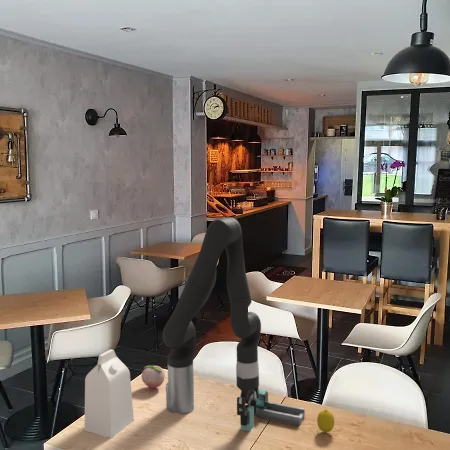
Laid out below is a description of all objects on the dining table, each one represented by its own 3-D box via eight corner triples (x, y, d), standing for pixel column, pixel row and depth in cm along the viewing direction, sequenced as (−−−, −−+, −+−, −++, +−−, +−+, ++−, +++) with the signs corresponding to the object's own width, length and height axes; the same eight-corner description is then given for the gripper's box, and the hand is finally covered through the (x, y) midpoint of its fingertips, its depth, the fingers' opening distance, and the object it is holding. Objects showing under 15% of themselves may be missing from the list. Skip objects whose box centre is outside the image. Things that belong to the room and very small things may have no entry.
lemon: (334, 438, 157) (334, 414, 156) (316, 436, 158) (317, 413, 157) (334, 429, 163) (334, 406, 162) (317, 427, 164) (317, 404, 163)
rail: (249, 415, 172) (249, 394, 171) (256, 406, 178) (256, 386, 177) (299, 426, 165) (299, 403, 164) (304, 416, 171) (304, 395, 170)
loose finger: (244, 423, 166) (244, 404, 166) (254, 426, 165) (253, 406, 164) (240, 429, 163) (240, 409, 162) (249, 431, 162) (249, 411, 161)
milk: (107, 413, 174) (104, 344, 171) (133, 420, 169) (131, 349, 166) (84, 430, 164) (80, 356, 160) (111, 438, 159) (108, 362, 155)
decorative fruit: (169, 385, 196) (168, 361, 195) (159, 394, 189) (158, 369, 187) (148, 382, 200) (148, 358, 198) (138, 390, 192) (137, 366, 191)
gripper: (244, 363, 170) (245, 407, 172) (228, 379, 157) (230, 427, 159) (265, 366, 167) (266, 411, 169) (250, 383, 154) (251, 431, 156)
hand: (248, 418), depth 164 cm, fingers open, 8 cm apart
